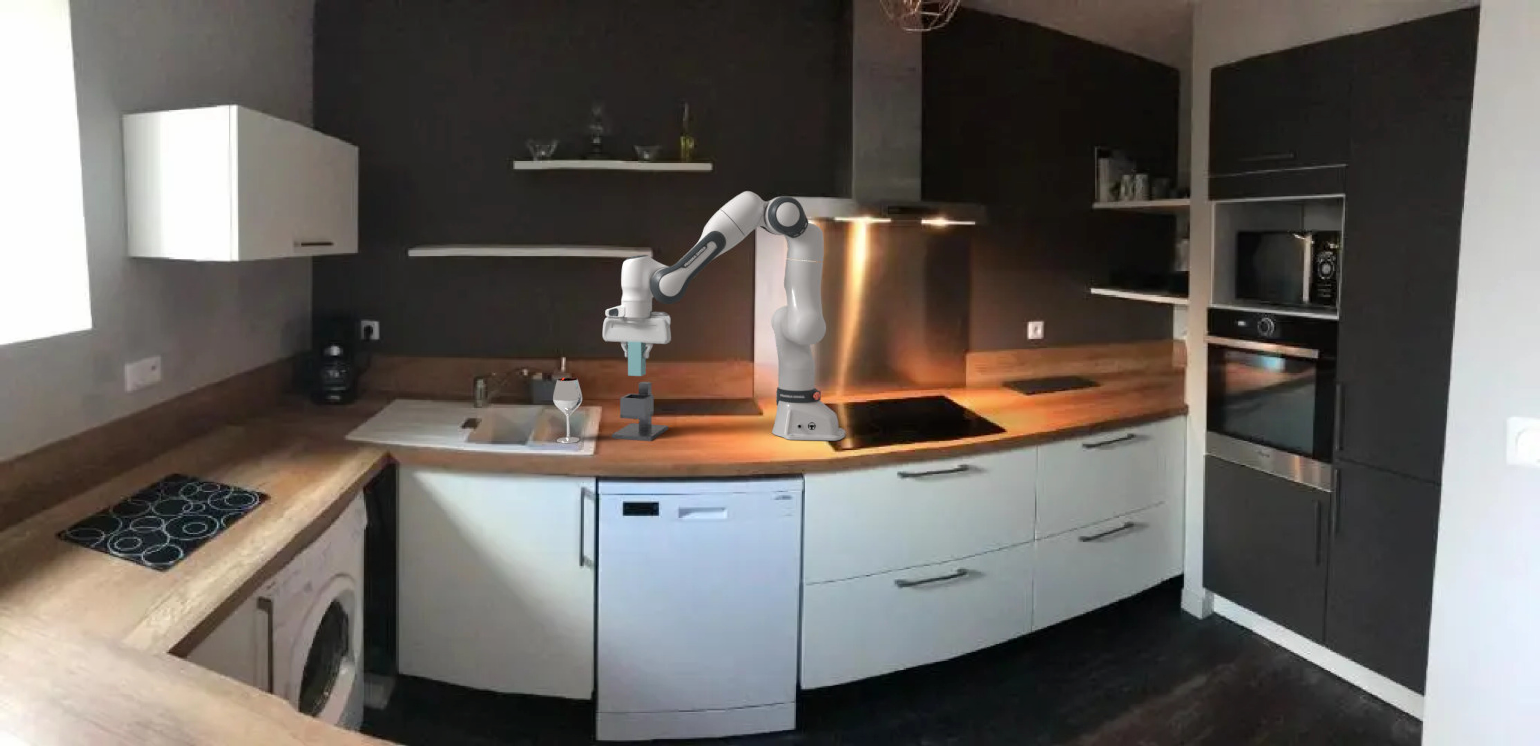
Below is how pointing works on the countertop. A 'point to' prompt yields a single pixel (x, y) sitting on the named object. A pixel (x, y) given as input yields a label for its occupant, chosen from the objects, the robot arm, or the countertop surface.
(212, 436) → the countertop surface
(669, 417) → the countertop surface
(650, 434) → the stand
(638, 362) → the teal rectangular block
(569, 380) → the wineglass
